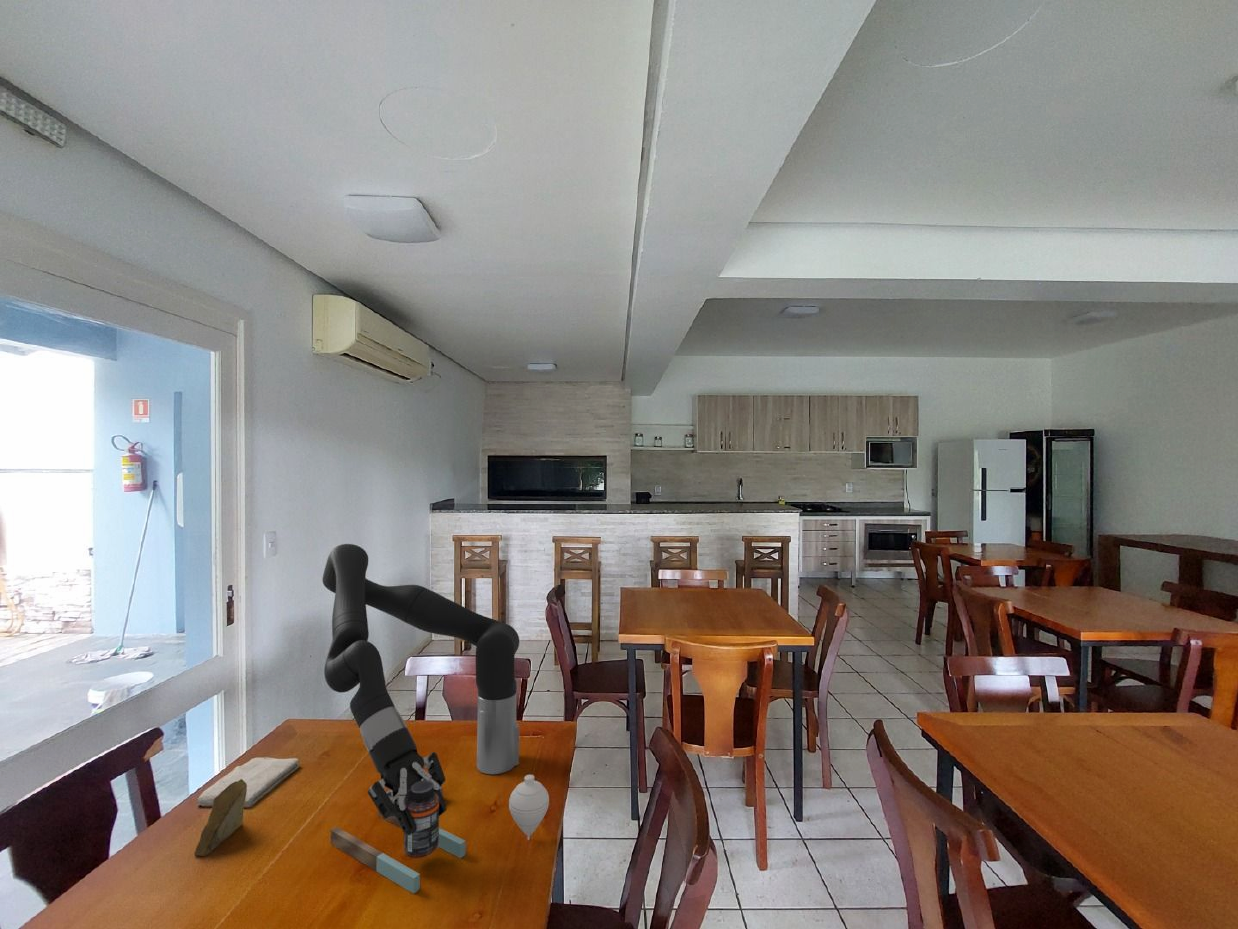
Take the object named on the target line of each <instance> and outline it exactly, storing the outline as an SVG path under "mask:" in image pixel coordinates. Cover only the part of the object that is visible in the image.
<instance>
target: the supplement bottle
mask: <svg viewBox="0 0 1238 929" xmlns="http://www.w3.org/2000/svg"><path fill="white" fill-rule="evenodd" d="M405 809H409V811H410V813H411V816H412V818H413V820H414V822H415V824H416V826H417V829H416V831H415V832H414V833H412V834H411V835H407V833H406V834H405V833H404V832H403V851H404V854H405V855H406V856H407V857H409V858H413V859H421V858H424V857H428V856H430V855H431V854H432V853H434V852H435V851H436V850H437V848H438V847H437V846H438V841H439V828H440V816H439V797H438V795H437V794H436V793H435V792H434V784H433V782H431V781H427V780H425V781H419V782H416V783H415V784H413V785H412V787H411V791H410V797H409V798H408V799H407V800H406V808H405Z"/></svg>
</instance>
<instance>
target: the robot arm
mask: <svg viewBox="0 0 1238 929" xmlns="http://www.w3.org/2000/svg"><path fill="white" fill-rule="evenodd" d="M368 567H369V555H368V552H366V550H365V549H364V548H363V547H361V546H359V545H356V544H353V543H342V544H339V545H337V546H335V547H334V548H333V549H332V550H331V551H330V552H329V555H328V556H327V559H326V564H325V567H324V570H323V575H322V584H323V586H324V587H325V588H326V589H327V590H329V591H330V592H331V593H334V601H333V610H332V616H331V618H332V619H331V634H332V641H331V644H330V647H329V649H328V653H327V657H326V658H325V662H324V663H325V664H324V669H323V671H324V679H325V681H326V684H327V685H328V687H329V688H330V689H331V690H332V691H334V692H337V693H347V692H349V691H351V690H352V689H354V688H355V687H357V686H358V685H359V687H358V689H357V691H356V693H355V694H354V695H353V697H352V698H351V700H350V701H349V702H350V703H349V708H350V711H351V714H352V716H353V718H354V720H355V722H356V724H357V726H358V729H359V731H360V734H361V739H362V740H363V743H364V745H365V748H366V750H367V752H368V754H369V756H370V759H371V761H372V763H373V765H374V767H375V770H376V771H377V773H378V774H380V780H379V781H375V782H374V783H373V784H372V785H371V786H370V787H369V788H368V790H367V794H368V796H369V797H370V799H371V801H372V802H373V803H374V805H375V806H376V809H377V810H378V813H379V812H380V813H381V815H382V816H383V818H384V819H383V818H382V819H383V820H385V819H387V818H388V817H392V816H395V817H396V818H397V819H398V821H399V824H400V826H401V827H400V828H401V830H402V832H403V834H404V833H405V834H406V833H407V835H411V834H412V833H414V832H415V831H416V829H417V826H416V824H415V822H414V820H413V818H412V816H411V813H410V811H409V809H405V808H406V794H407V790H409V789H411V787H412V785H413V784H415V783H416V782H419V781H421V780H422V779H423V781H425V780H427V781H431V782H433V784H434V792H435V793H436V794H437V795H438V797H439V817H441V816H442V815H443V814H444V813H445V812H446V811H447V802H446V800H445V798H444V795H443V796H442V794H441V792H440V787H442V785H443V784H444V783H445V782H446V776H445V774H444V771H443V769H442V766H441V762H440V760H439V759H440V758H439V757H438V754H437V752H435V751H434V752H431V753H430V755H428V756H425V757H423V756H422V755H420V754H419V753H418V746H417V745H416V743H415V740H414V738H413V737H412V734H411V732H410V730H409V728H408V727H407V724H406V722H405V720H404V719H403V716H402V715H401V713H400V712H399V710H397V708H396V706H395V703H394V702H393V700H392V698H391V696H390V693H389V692H388V690H387V684H386V678H385V673H384V668H383V661H382V657H381V654H380V652H379V650H378V648H377V647H376V646H375V645H374V644H373V642H372V643H371V642H370V641H369V635H370V634H369V624H368V623H369V622H368V621H369V620H368V615H367V614H368V612H367V606H369V607H372V608H374V609H376V610H378V611H381V612H382V613H385V614H387V615H389V616H392V617H394V618H396V619H398V620H400V621H401V622H403V623H406V624H407V625H410V626H412V627H414V628H416V629H418V630H421V631H423V632H427V633H431V634H435V635H439V636H440V635H441V636H448V637H453V638H457V639H460V640H462V641H465V642H467V643H468V644H470V645H473V646H475V647H476V648H475V683H476V687H477V725H476V726H477V727H476V728H477V730H476V731H477V732H476V734H477V735H476V738H477V739H476V769H477V770H478V771H479V772H480V773H483V774H486V775H499V774H504V773H506V772H509V771H510V770H513V768H515V766H519V764H520V759H519V758H520V724H519V723H518V722H517V690H518V689H517V688H518V687H517V680H516V679H515V656H516V653H517V652H518V650H519V647H520V637H519V636H520V635H519V634H518V632H517V631H516V629H515V628H514V627H513V626H511V625H510V624H508V623H506V622H502V621H499V620H497V619H494V618H491V617H488V616H485V615H482V614H480V613H478V612H474V611H472V610H470V609H468V608H466V607H464V606H463V605H461V604H459V603H457V602H455V601H453V600H451V599H449V598H446V597H445V596H442V595H441V594H440V593H437V592H435V591H433V590H431V589H429V588H427V587H424V586H421V585H418V584H404V585H403V584H401V585H392V586H391V585H389V586H387V585H382V584H379V583H377V582H374V581H372V580H370V579H368V578H367V576H366V575H367V569H368ZM424 767H425V768H424ZM426 770H427V771H428V772H427V771H426ZM386 788H387V789H388V790H390V789H391V799H390V798H389V796H388V795H387V793H386V792H387V791H386Z"/></svg>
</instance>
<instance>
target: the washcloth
mask: <svg viewBox="0 0 1238 929" xmlns="http://www.w3.org/2000/svg"><path fill="white" fill-rule="evenodd" d="M299 762H300V760H299V759H298V758H296V757H295V758H290V757H289V758H274V757H268V756H266V757H253V758H251V759H250V760H249V761H247V762H245V763H244V764H242V765H237V766H236V767H234V768H233V769H232V770H231V771H230V772H229V773H227V774H226V775H224V776H222V777H221V778H220V779H218V780H217V781H216V782H215V783H213V784H212V785H211V786H209V787H208V788H206V789H205V790H204V791H203V792H202V793H201V794H200V795H199V796H198V798H197V800H196V804H197V805H198V806H200V805H201V807H213V801H214V798H215V797H217V796H218V795H219V794H220V793H221V792H222V791H223V790H225V788H227V787H228V786H229V785H230V784H232V783H234V782H235V781H239V780H240V779H242V780H243V781H244V782H245V783H246V784H247V793H246V798H245V802H244V807H243V808H250V807H253V806H254V805H255V804H256V803H257V802H258V801H260V800H261V799H262V798H263V797H265V795H267V794H268V793H269V792H271V791H272V790H273V789H274V788H275V787H276V786H278V785H279V784H280V783H281V782H282V781H283V780H284V779H286V778H287V777H288V776H289V775H292V773H294V772H295V771H296V770H297V769H299V768H300V764H299Z"/></svg>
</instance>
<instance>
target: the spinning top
mask: <svg viewBox="0 0 1238 929" xmlns="http://www.w3.org/2000/svg"><path fill="white" fill-rule="evenodd" d="M523 779H524V781H521V782H520V783H519V784H517V785H516V787H515V788H514V789H513V791H512V792H511V794H510V796H509V800H508V810H509V812H510V815H511V817H512V818H513V821H514V822H515V824H516V825H517V826H518V827H519V829H520V830H521V831H522V833H523V834H524V835H526V837H527V840H528V841H530V837H531V835H532V834H533V833H534V832H535V831H536V830H537V828H538V827H539V825H540V824H541V823H542V821H543V819H544V817H545V815H546V814H547V811H548V809H549V806H550V795H549V792H548V791H547V788H545V786H544V785H543V784H542V783H541V782H540V781H537V780H535V776H534V774H526V775H525V776H524V778H523Z"/></svg>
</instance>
